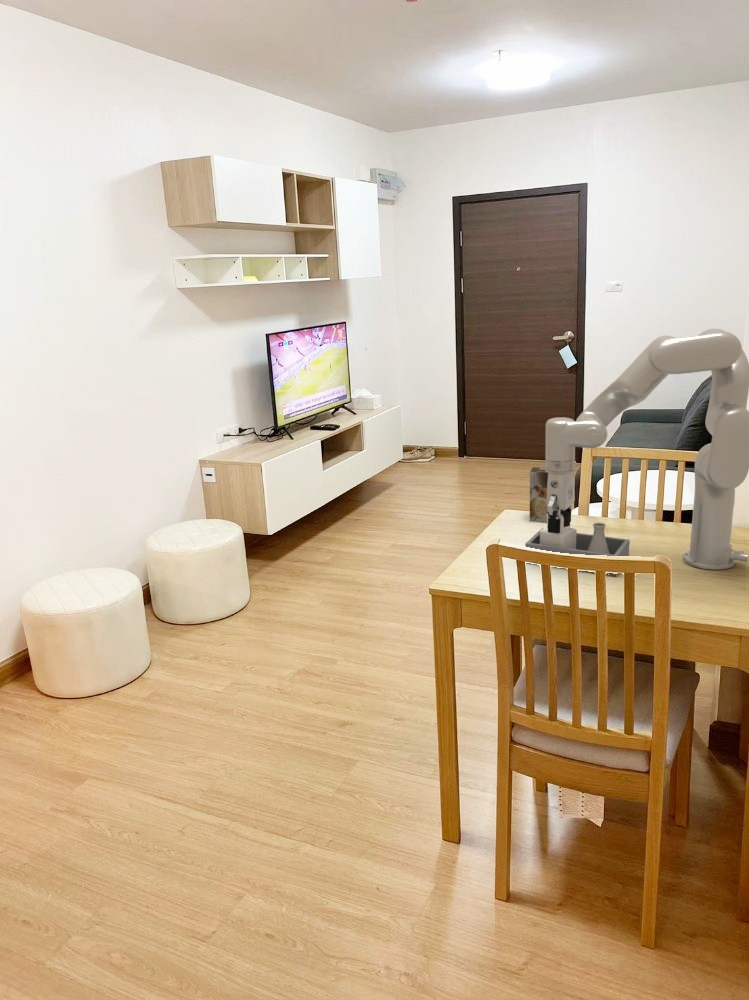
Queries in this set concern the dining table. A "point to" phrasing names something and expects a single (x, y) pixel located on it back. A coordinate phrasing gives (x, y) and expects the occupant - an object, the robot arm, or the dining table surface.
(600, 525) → the flask
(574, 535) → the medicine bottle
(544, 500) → the coffee box
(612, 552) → the box
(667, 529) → the dining table surface
